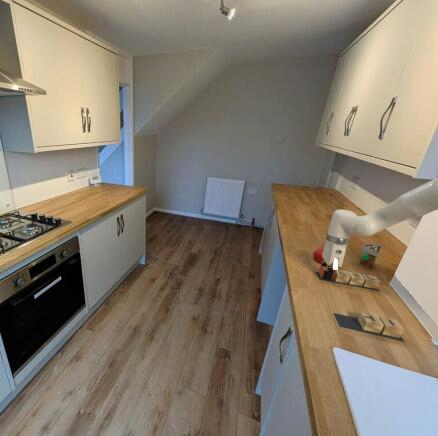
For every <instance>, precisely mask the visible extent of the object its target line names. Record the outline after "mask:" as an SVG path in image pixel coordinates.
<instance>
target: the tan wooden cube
mask: <svg viewBox="0 0 438 436" xmlns="http://www.w3.org/2000/svg"><path fill="white" fill-rule="evenodd" d="M358 318H359V319H358V322H359V323H360V325H361V327H362V328H363V330H367V331H371V332H375V333H380V332H381V330H382V328H383V326H384V325H383V323H382V322H381V320H380V319H379V316H378V315H376V314H370V313H366V312H362V311H361V312H360V314H359V317H358Z"/></svg>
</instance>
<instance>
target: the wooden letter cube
mask: <svg viewBox="0 0 438 436" xmlns="http://www.w3.org/2000/svg"><path fill="white" fill-rule="evenodd" d="M347 273H348V274H349V276H350V279H349V281H348V283H349V284H352V285H358V286H362V285H363V282H364V280H365V279H364V278H363V276H362V274H361V273H358V272H352V271H347Z"/></svg>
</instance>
